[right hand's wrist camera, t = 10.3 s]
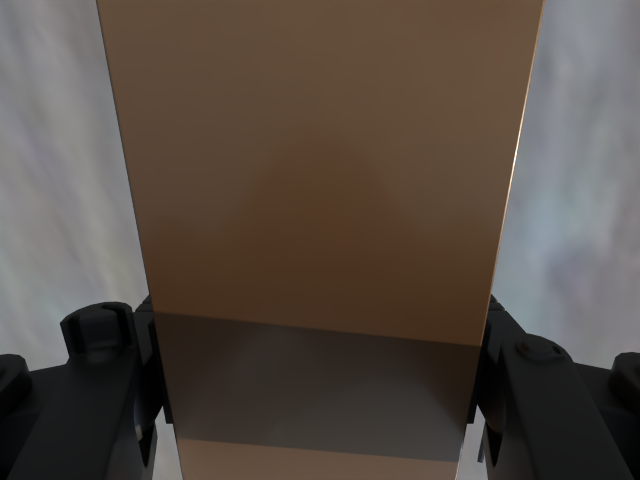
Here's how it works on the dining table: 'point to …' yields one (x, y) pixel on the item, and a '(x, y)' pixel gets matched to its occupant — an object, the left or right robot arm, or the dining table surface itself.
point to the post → (320, 220)
